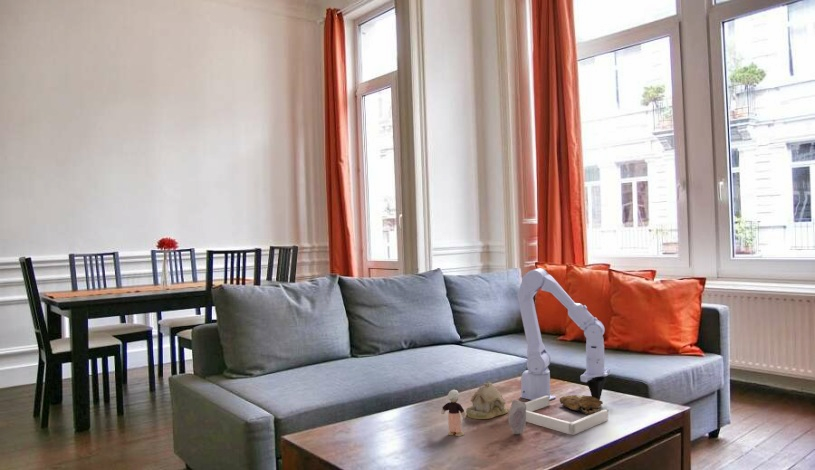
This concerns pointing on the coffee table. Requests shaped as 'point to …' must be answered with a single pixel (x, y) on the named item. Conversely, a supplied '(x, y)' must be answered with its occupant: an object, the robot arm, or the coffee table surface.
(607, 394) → the coffee table surface
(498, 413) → the ceramic model
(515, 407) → the fossil
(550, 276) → the robot arm
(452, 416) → the grandmother figurine
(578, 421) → the box
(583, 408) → the decorative rock
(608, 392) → the coffee table surface
